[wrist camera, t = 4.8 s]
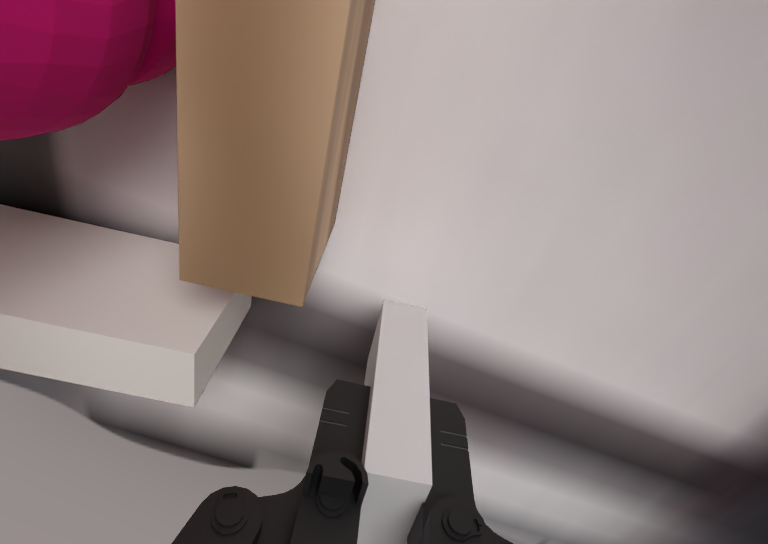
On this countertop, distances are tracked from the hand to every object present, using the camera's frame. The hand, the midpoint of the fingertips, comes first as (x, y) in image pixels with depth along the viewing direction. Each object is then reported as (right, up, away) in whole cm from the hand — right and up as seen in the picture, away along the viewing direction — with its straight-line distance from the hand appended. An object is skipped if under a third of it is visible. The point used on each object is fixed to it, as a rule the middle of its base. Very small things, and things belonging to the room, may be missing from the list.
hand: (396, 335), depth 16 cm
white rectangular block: (-10, +3, 0) cm, 10 cm away
